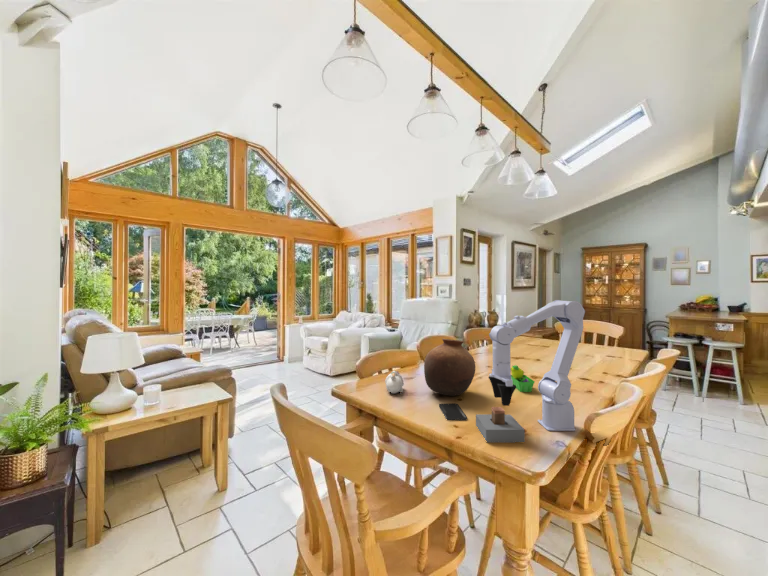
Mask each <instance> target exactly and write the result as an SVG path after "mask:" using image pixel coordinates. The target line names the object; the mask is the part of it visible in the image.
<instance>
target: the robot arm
mask: <svg viewBox="0 0 768 576" xmlns="http://www.w3.org/2000/svg"><path fill="white" fill-rule="evenodd" d="M585 313H586V310H585V309H584V306H583V305H582V304H581V303H580V302H579V301H577V300H572V301H571V300H570V301H569V300H560V299H555V300H553V301H551V302H548V303H547V304H546V305H544V306H543V307H540V308H538V309H537V310H536V311H535V310H534V311H533V312H531V313H530V314H529V315H526V316H524V315H515V316H513V319H511V320H509V321H507V322H506V321H504V322H502V325H495V326H493V327H492V329H491V330H490V333H488V336H489V339H491V341H492V342H491V343H492V369H491V373H489V376H488V379H489V381H490V382H489V383H490V385H491V387H492V391H493V395H494V398H499V399H500V400H501V406H507V407H508V406H509V407H510V405H511V402H512V401H511V400H512V396H513V394H514V392H515V390H516V389H517V388H516V385H513V380H512V379H511V375H512V371H511V343H513V341H514V340H515V338H517V337H520V336H522V335H524V334H525V333H528V332H529V331H531V327H532V326H533V325H535V324H538V323H539V322H542V321H543V322H544V320H547V319H549V318H551V317H553V318H555V320H557V321H558V322H559V323H560V324H561V326H562V327H563V331H562V334H561V337H560V341H559V344H558V345H557V346H558V347H557V349H556V352H555V355H554V358H553V362H552V364H551V368H550V370H548V371H547V372H545V373H543V377H542V378H541V379H540V380H539V382H538V385H537V390H538V392H539V393H540V395H541V403H542V405H541V415H542V416H541V417H542V418H541V419H537V420H536V421H537V422H538V423H539V424H540V425H541V426H543V428H544V429H545V430H546V431H549V432H550V431H554V432H555V431H556V432H558V431H559V432H560V431H564V432H566V431H567V432H575V431H576V430H577V429H576V428H575V407H574V405H573V403H572V402H571V401H570V400H571V399H570V398H571V388H572V383H571V381H570V379H569V377H568V376H569V373H570V371H571V367H572V365H573V361H574V358H575V355H576V351H577V349H578V347H579V343H580V340H581V338H582V337H581V336H582V333H583V331H584V317H585Z"/></svg>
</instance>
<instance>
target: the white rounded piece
mask: <svg viewBox="0 0 768 576" xmlns="http://www.w3.org/2000/svg"><path fill="white" fill-rule="evenodd" d="M384 383H385V388H386V390H387V391H388V392H389V393H390V392H391V393H390V394H397V393H399V392H402V393H403V392H404V389H403V386H404V385H405V384H404V379H403V376H402V375H401V374H400V372H399V371H398V370H397V371H396V370H392V372H390V373H389V374H388V375H387V376H386V378H385V380H384Z"/></svg>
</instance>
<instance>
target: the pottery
mask: <svg viewBox="0 0 768 576" xmlns="http://www.w3.org/2000/svg"><path fill="white" fill-rule="evenodd" d="M441 340H442V341H443V343H442V344H439V345H437V346H435V347H433V348H432V349H431V350H429V351H428V353H426V356H425V357H424V358H425V359H424V364H423V368H424V369H423V372H424V373H423V374H424V380H425V383H426V385H427V387H428V388H429V389H430V390H431V391H432V392H434V393H437V394H440V395H444V396H452V397H453V396H460V395H462V394H464V393H465V392H466V391H467V390H468V389H469V387H470V385H471V384H472V382H473V379H474V377H475V373H476V362H475V361H476V360H475V357H473V355H472V354H471V353H470V352H469V351H468V350H467V349H466V348H464V346H463V345H462V344H464V341H463V340H457V339H450V338H442V339H441Z"/></svg>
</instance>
